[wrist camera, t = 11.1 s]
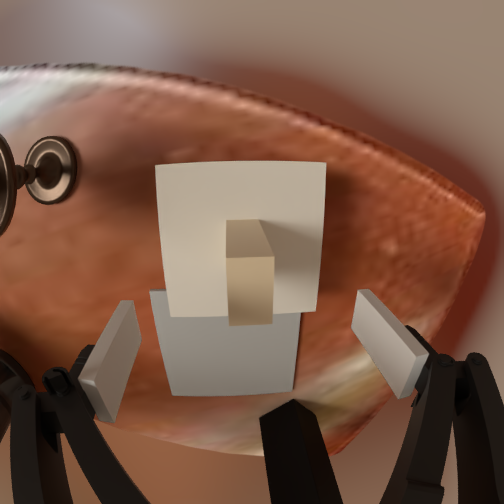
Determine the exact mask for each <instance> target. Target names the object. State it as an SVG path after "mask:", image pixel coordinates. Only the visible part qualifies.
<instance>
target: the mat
mask: <svg viewBox="0 0 504 504" xmlns="http://www.w3.org/2000/svg"><path fill="white" fill-rule="evenodd" d="M149 292H150V298H151V304H152V309H153V314H154V320H155V325H156V329H157V334H158V339H159V343H160V348H161V352H162V357H163V361H164V365H165V369H166V373H167V377H168V381H169V385H170V388H171V392H172V396H238V395H256V394H270V393H281V392H291V391H292V388H293V380H294V372H295V363H296V355H297V346H298V336H299V326H300V316H301V312H298V313H283V314H273V321H272V324H267V325H247V326H229V320H228V316H214V317H171V316H170V310H169V303H168V297H167V290H166V289H150V291H149Z"/></svg>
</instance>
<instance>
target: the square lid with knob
mask: <svg viewBox="0 0 504 504" xmlns="http://www.w3.org/2000/svg"><path fill="white" fill-rule="evenodd" d="M155 173H156V191H157V206H158V219H159V230H160V240H161V250H162V259H163V267H164V275H165V283H166V290H167V297H168V303H169V310H170V316H171V317H214V316H228V320H229V326H247V325H267V324H272V321H273V314H283V313H298V312H311V311H316V303H317V294H318V284H319V274H320V263H321V251H322V238H323V223H324V206H325V184H326V163H324V162H303V161H214V162H192V163H175V164H162V165H155Z"/></svg>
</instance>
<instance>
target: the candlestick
mask: <svg viewBox="0 0 504 504" xmlns="http://www.w3.org/2000/svg"><path fill="white" fill-rule="evenodd" d="M76 174H77V161H76V157H75V153H74V151H73V149H72V147H71V146H70V144H69V143H68V142H67V141H66V140H64V139H63V138H61V137H57V136H47V137H44V138H41V139H40V140H38V141H37V142H36V143H35V144H34V145H33V146H32V147H31V149H30V150H29V152H28V154H27V157H26V159H25V164H24V167H22V166H21V165H15V162H14V157H13V155H12V152H11V149H10V147H9V145H8V143H7V141H6V139H5V138H4V137H3V136H2V135H1V134H0V237H1V236H2V235H3V234H4V232H5V231H6V230H7V228H8V226H9V225H10V222H11V220H12V217H13V214H14V209H15V205H16V196H17V189H20V188H21V187H22V186H23V185H24V184H25V185H26V188H27V190H28V192H29V194H30V195H31V197H32V198H33V199H34V200H36V201H37V202H39V203H41V204H45V205H50V204H54V203H57V202H59V201H61V200H63V199H64V198H65V197H66V196H67V195H68V194H69V193H70V191H71V189H72V188H73V185H74V182H75V179H76Z"/></svg>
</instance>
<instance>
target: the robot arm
mask: <svg viewBox="0 0 504 504" xmlns="http://www.w3.org/2000/svg"><path fill="white" fill-rule="evenodd" d="M351 329H352V330H353V332H354V333H355V334H356V336H357V337H358V339H359V340H360V342H361V343H362V345H363V346H364V348H365V349H366V351H367V352H368V354H369V355H370V357H371V358H372V360H373V361H374V363H375V364H376V366H377V367H378V369H379V370H380V372H381V374H382V375H383V377H384V378H385V380H386V381H387V383H388V384H389V386H390V387H391V389H392V391H393V392H394V394H395V395H396V397H397V398H398V399H401V398H405V397H408V396H410V395H411V394H412V391H413V389H414V387H415V388H416V390H417V391H418V393H417V395H416V397H415V399H414V401H413V403H412V405H411V407H413V410H412V414H411V417H410V421H409V425H408V428H407V431H406V435H405V438H404V441H403V444H402V448H401V450H400V453H399V456H398V459H397V462H396V465H395V468H394V470H393V473H392V475H391V478H390V480H389V483H388V485H387V488H386V490H385V492H384V494H383V497H382V499H381V501H380V503H379V504H441V503H442V499H443V496H444V487H442V486H441V479H442V475H443V471H444V466H445V461H446V456H447V451H448V446H449V440H450V433H451V426H452V422H453V429H454V437H455V446H456V457H457V471H458V504H504V405H503V402H502V399H501V396H500V393H499V390H498V387H497V384H496V382H495V379H494V376H493V374H492V371H491V369H490V367H489V364H488V361H487V360H486V358H485V357H484V356H483V355H482V354H480V353H475V352H473V353H470V354H468V356H467V358H466V360H465V361H455V360H454V359H453V358H452V357H450V356H449V355H446V354H438V353H437V352H436V351H435V350H434V349H433V348H432V347H431V346H430V345H429V343H428V342H427V341H426V340H425V339H424V338H423V337H422V336H420V334H419V333H418V332H417V331H416V330H415V329H414V328H412V327H410V326H408V325H406V326H404V325H403V324H402V323H401V322H400V321H399V320H398V319H397V318H396V317H395V316H394V315H393V313H392V312H391V311H390V310H389V309H388V308H387V307H386V306H385V305H384V304H383V303H382V302H381V301H380V300H379V299H378V298H377V297H376V296H375V295H374V294H373V293H372V292H371V291H370V290H369V289H362V290H358V292H357V298H356V304H355V310H354V315H353V320H352V325H351ZM141 341H142V338H141V334H140V329H139V325H138V321H137V316H136V312H135V307H134V302H133V301H128V300H121V301H120V303H119V305H118V306H117V308H116V310H115V312H114V313H113V315H112V317H111V318H110V320H109V322H108V324H107V325H106V327H105V329H104V331H103V332H102V334H101V336H100V338H99V340H98V341H97V343H96V345H87V346H86V347H85V348H84V349H83V350H81V352H80V354H79V356H78V358H77V359H76V361H75V364H73V366H72V368H71V370H70V372H69V373H68V371H67V370H66V369H65V368H63V367H54V368H51V369H49V370H47V371H46V372H45V373H44V375H43V377H42V382H43V384H44V386H45V388H46V390H47V391H48V392H39V393H37V392H36V390H35V388H34V385H33V383H32V381H31V379H30V378H29V376H28V375H27V373H26V372H25V371H24V369H23V368H22V367H21V366H20V365H19V364H18V363H17V362H16V361H15V360H14V359H13V358H12V357H11V356H9V355H8V354H7V353H5V352H4V351H2V350H0V443H1V441H2V439H3V437H4V435H5V433H6V431H7V429H8V427H9V425H10V423H11V429H10V430H11V431H10V458H11V459H10V462H11V479H12V490H13V499H14V504H73V500H72V497H71V493H70V488H69V484H68V480H67V475H66V470H65V464H64V458H63V452H62V446H61V438H60V433H64V434H65V436H66V438H67V440H68V443H69V445H70V447H71V449H72V451H73V453H74V455H75V457H76V459H77V461H78V463H79V465H80V467H81V469H82V471H83V473H84V474H85V476H86V478H87V480H88V482H89V483H90V485H91V487H92V489H93V490H94V492H95V494H96V495H97V497H98V498H99V500H100V502H101V503H102V504H151V503H150V502H149V501H148V500H147V499H146V497H145V496H144V495H143V494H142V492H141V491H140V490H139V489H138V487H137V486H136V485H135V483H134V482H133V481H132V479H131V478H130V477H129V475H128V474H127V473H126V471H125V470H124V468H123V467H122V465H121V464H120V463H119V461H118V459H117V458H116V456H115V455H114V453H113V452H112V450H111V449H110V447H109V446H108V444H107V442H106V441H105V439H104V437H103V436H102V434H101V432H100V431H99V429H98V427H97V425H96V424H95V422H94V420H93V419H94V416H95V413H96V415H97V417H98V419H99V420H100V421H104V422H111V423H115V420H116V417H117V413H118V410H119V407H120V403H121V400H122V397H123V394H124V391H125V388H126V384H127V381H128V378H129V375H130V372H131V369H132V366H133V364H134V361H135V358H136V355H137V352H138V349H139V346H140V344H141Z"/></svg>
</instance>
